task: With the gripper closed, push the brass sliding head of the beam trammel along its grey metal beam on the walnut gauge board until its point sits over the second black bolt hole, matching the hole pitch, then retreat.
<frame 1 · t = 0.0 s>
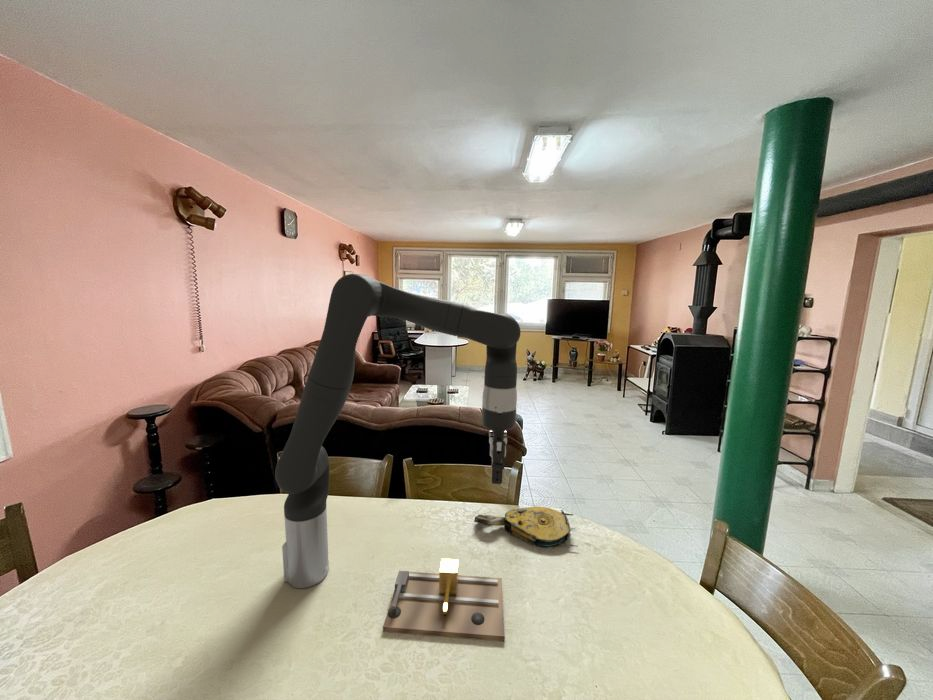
hand: (496, 473, 82), 29 cm above the table, fingers open, 8 cm apart
pulley block: (523, 531, 108), on the table
sliding head: (447, 587, 80), point 5 cm above the table, slide at 0.0 cm
gauge board: (447, 605, 81), on the table
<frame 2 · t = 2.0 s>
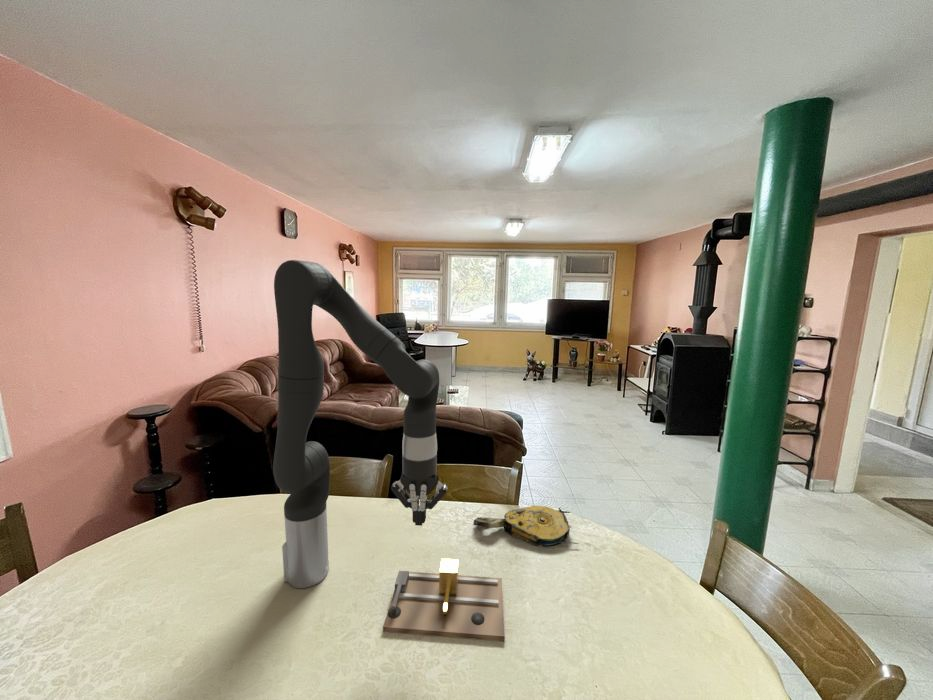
hand: (419, 523, 81), 18 cm above the table, fingers closed
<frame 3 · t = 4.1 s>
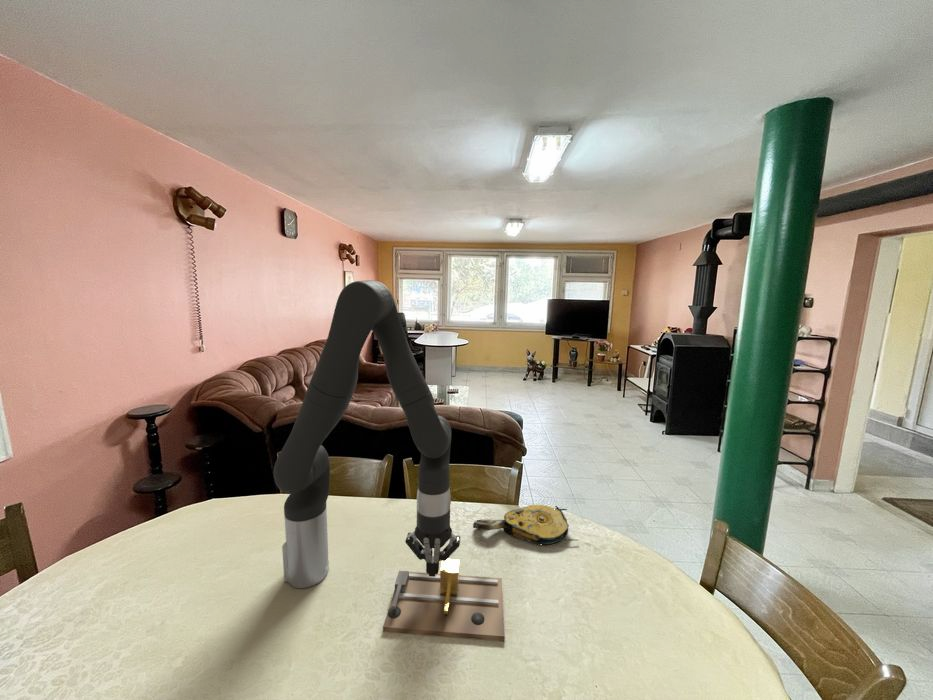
hand: (432, 573, 83), 5 cm above the table, fingers closed
sliding head: (448, 587, 80), point 5 cm above the table, slide at 0.2 cm, touching gripper
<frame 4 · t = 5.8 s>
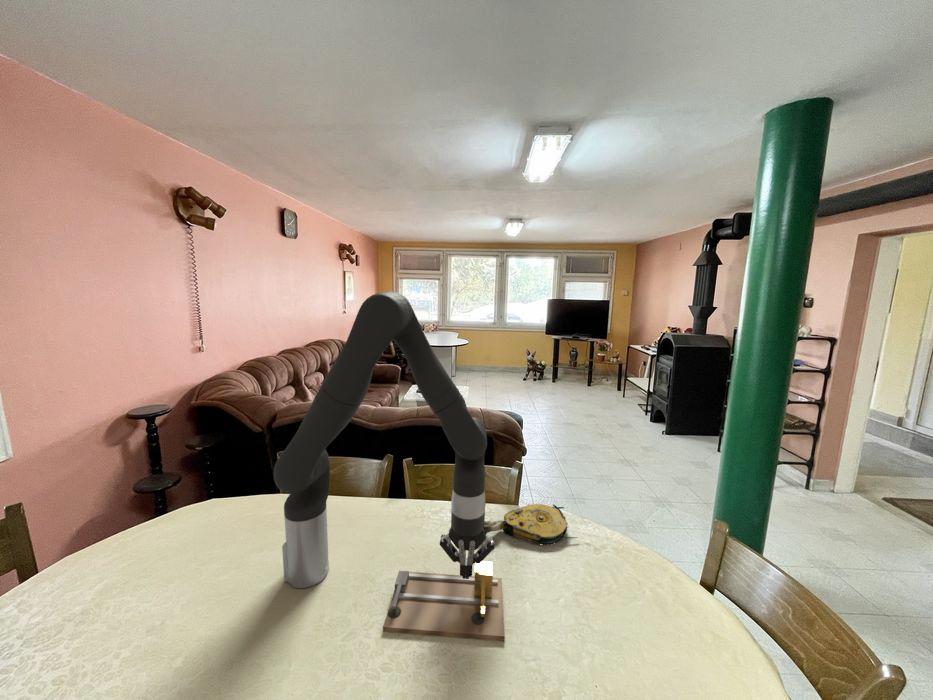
hand: (466, 576, 83), 5 cm above the table, fingers closed
sliding head: (483, 589, 80), point 5 cm above the table, slide at 8.0 cm, touching gripper
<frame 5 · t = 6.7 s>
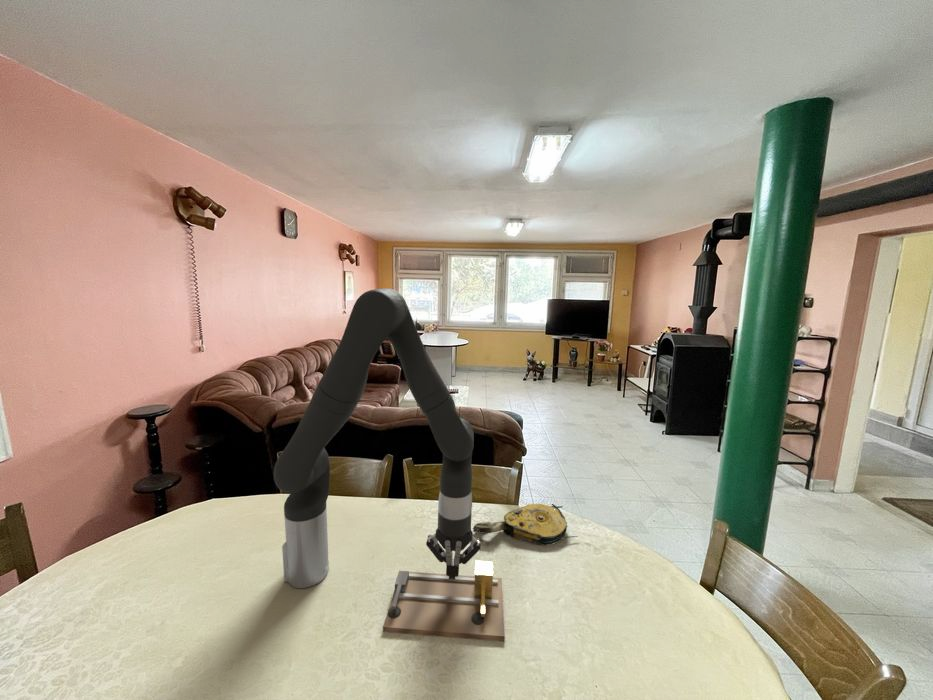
hand: (452, 576, 83), 5 cm above the table, fingers closed
sliding head: (483, 589, 80), point 4 cm above the table, slide at 8.0 cm
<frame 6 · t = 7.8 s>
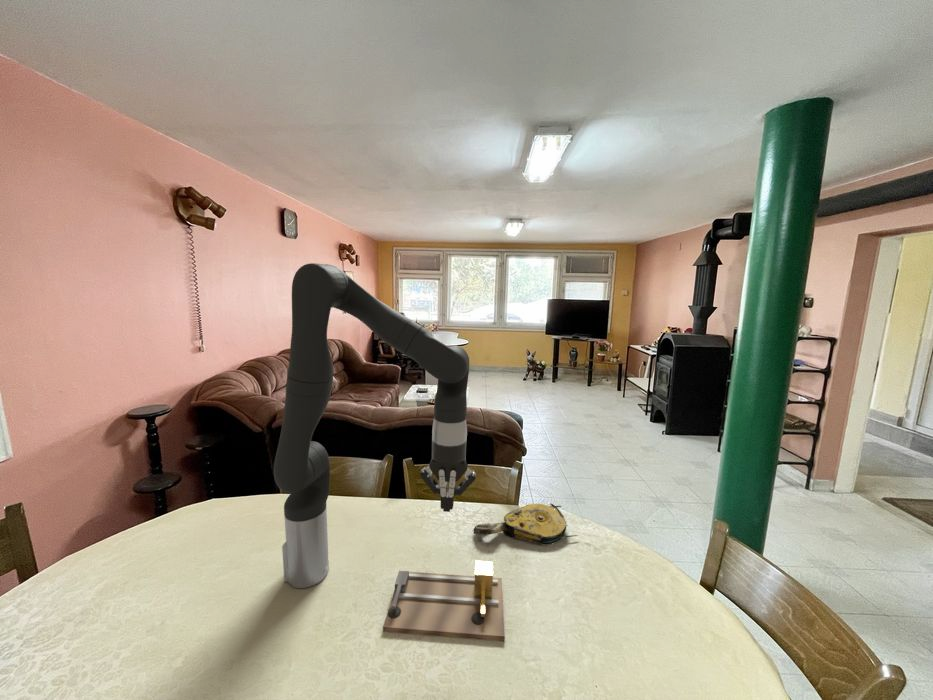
hand: (447, 509, 81), 21 cm above the table, fingers closed
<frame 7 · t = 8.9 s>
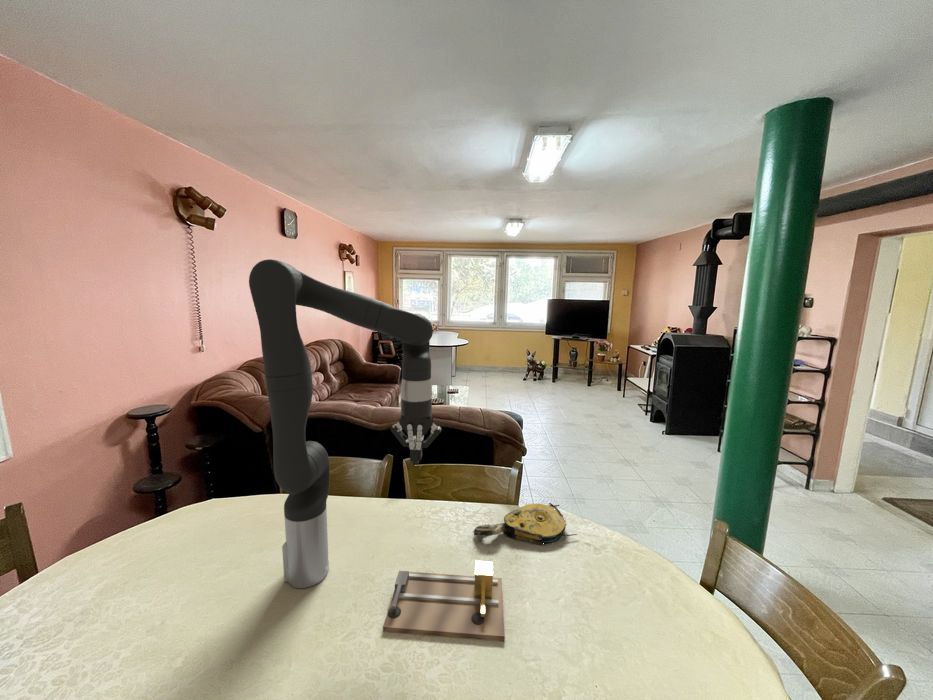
hand: (416, 461, 91), 27 cm above the table, fingers closed
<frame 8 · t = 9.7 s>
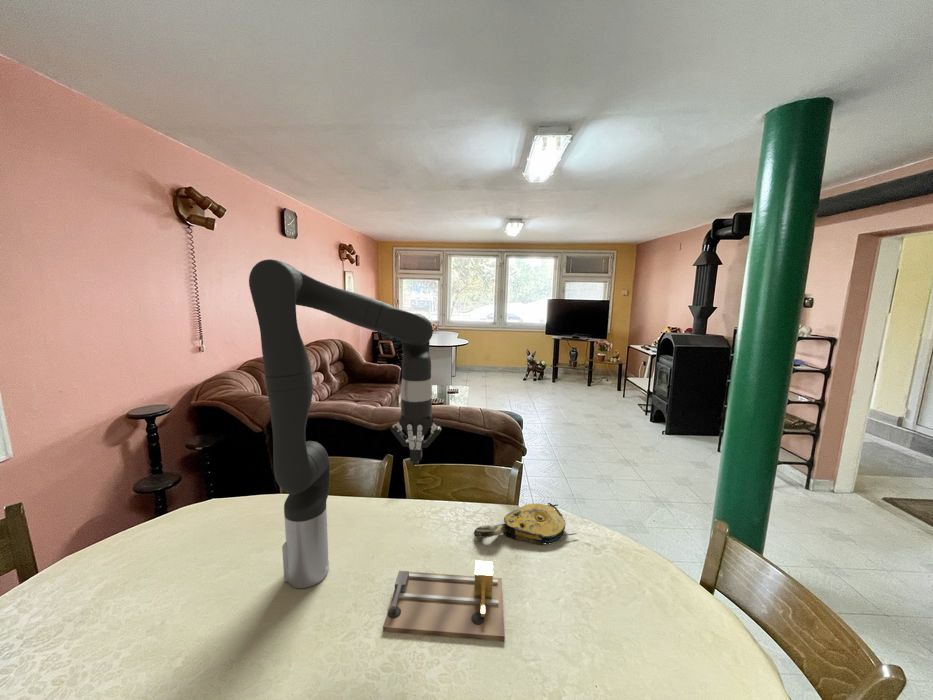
hand: (416, 461, 91), 27 cm above the table, fingers closed
at the end: sliding head slide at 8.0 cm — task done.
